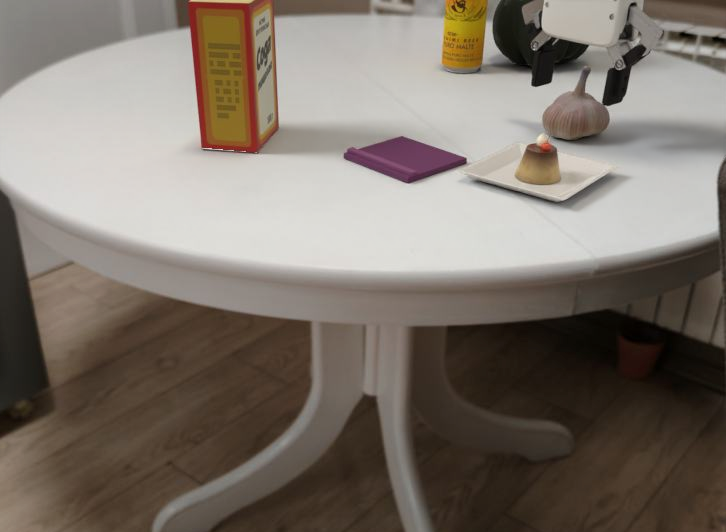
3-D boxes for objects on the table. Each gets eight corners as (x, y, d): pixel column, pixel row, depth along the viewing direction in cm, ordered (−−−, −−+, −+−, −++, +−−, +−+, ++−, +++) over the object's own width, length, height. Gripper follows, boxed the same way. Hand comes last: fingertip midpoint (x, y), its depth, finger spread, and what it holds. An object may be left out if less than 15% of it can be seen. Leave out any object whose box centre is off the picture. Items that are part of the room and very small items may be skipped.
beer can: (436, 71, 120) (443, -39, 112) (447, 62, 125) (454, -44, 117) (476, 75, 119) (485, -37, 111) (485, 66, 123) (495, -42, 115)
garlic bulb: (610, 130, 97) (622, 62, 92) (600, 149, 91) (613, 77, 87) (547, 123, 99) (556, 55, 95) (533, 140, 94) (543, 70, 89)
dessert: (562, 211, 76) (570, 162, 74) (456, 181, 83) (460, 135, 80) (617, 176, 84) (626, 130, 81) (516, 151, 90) (521, 108, 88)
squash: (620, 35, 116) (595, -59, 118) (524, 46, 113) (500, -51, 115) (576, 83, 130) (555, -2, 132) (490, 93, 127) (469, 6, 129)
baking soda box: (257, 153, 90) (248, -1, 81) (201, 149, 91) (187, -3, 82) (278, 127, 98) (272, -15, 89) (227, 124, 99) (216, -17, 90)
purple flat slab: (466, 163, 87) (467, 154, 87) (407, 183, 82) (408, 173, 82) (401, 140, 94) (402, 132, 93) (343, 158, 89) (343, 149, 88)
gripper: (700, -68, 80) (660, 105, 89) (557, -82, 91) (534, 73, 100) (660, -63, 76) (623, 118, 85) (515, -79, 87) (495, 83, 96)
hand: (575, 93), depth 93 cm, fingers open, 9 cm apart
